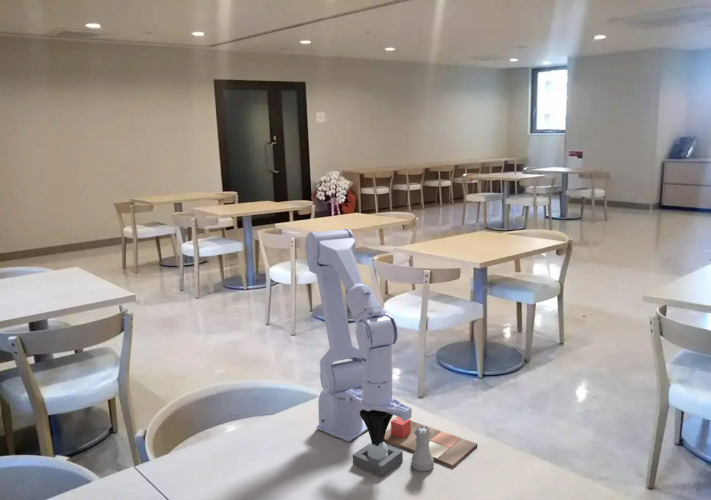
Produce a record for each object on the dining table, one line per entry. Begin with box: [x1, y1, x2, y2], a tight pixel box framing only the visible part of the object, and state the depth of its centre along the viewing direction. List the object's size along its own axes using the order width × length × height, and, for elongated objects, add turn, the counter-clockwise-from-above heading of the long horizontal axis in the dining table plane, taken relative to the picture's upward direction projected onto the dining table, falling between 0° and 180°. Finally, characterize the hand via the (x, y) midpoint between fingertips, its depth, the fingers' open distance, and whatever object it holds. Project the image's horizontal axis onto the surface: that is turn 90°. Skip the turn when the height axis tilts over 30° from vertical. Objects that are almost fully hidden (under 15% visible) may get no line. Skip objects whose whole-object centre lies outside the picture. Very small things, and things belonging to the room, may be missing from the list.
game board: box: [384, 420, 478, 469], centre depth 123 cm, size 18×10×1 cm, turn 51°
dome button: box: [368, 441, 388, 462], centre depth 115 cm, size 4×4×4 cm
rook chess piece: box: [410, 424, 435, 472], centre depth 114 cm, size 4×4×8 cm
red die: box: [390, 416, 412, 438], centre depth 126 cm, size 3×3×3 cm
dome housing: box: [352, 442, 404, 478], centre depth 116 cm, size 7×7×2 cm
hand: (378, 443), depth 115 cm, fingers closed, pressing on dome button
